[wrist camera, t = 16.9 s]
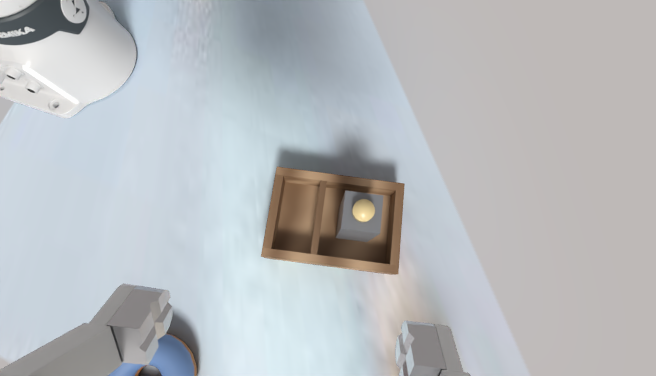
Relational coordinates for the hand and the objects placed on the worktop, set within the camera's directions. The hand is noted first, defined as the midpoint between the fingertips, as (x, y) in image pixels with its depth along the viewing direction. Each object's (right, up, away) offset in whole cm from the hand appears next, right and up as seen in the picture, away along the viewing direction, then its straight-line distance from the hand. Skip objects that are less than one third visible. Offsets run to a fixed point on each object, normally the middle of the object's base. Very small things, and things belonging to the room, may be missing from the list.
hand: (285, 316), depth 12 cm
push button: (+5, 0, +31) cm, 32 cm away
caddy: (+2, 0, +32) cm, 32 cm away
